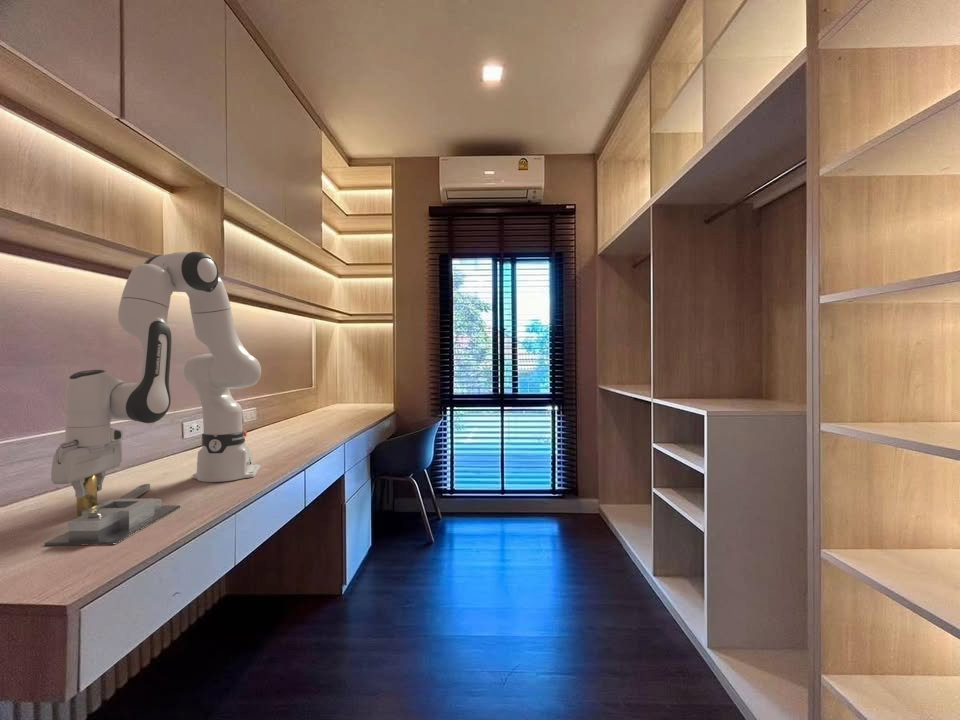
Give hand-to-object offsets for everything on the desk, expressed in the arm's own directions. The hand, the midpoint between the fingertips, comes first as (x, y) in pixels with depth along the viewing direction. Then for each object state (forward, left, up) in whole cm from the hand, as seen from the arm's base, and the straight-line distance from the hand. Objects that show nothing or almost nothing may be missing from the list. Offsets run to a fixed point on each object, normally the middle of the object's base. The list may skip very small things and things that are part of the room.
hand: (89, 493), depth 130 cm
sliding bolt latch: (+8, +12, -5) cm, 15 cm away
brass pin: (0, -1, -5) cm, 5 cm away
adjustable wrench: (-12, +4, -5) cm, 13 cm away
